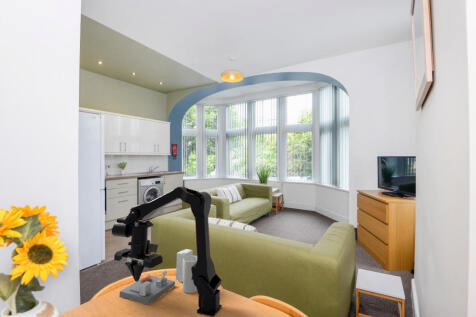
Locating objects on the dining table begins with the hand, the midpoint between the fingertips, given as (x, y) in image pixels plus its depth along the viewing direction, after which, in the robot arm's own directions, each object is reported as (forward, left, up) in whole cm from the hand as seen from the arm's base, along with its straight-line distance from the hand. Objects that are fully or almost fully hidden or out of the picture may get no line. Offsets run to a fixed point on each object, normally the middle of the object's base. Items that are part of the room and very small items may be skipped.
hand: (136, 281), depth 82 cm
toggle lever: (-5, -8, -3) cm, 10 cm away
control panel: (-1, -5, -6) cm, 8 cm away
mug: (-15, -15, -6) cm, 22 cm away
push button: (+3, -8, -4) cm, 9 cm away
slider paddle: (-4, 0, -4) cm, 6 cm away
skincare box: (-8, -19, -6) cm, 21 cm away
